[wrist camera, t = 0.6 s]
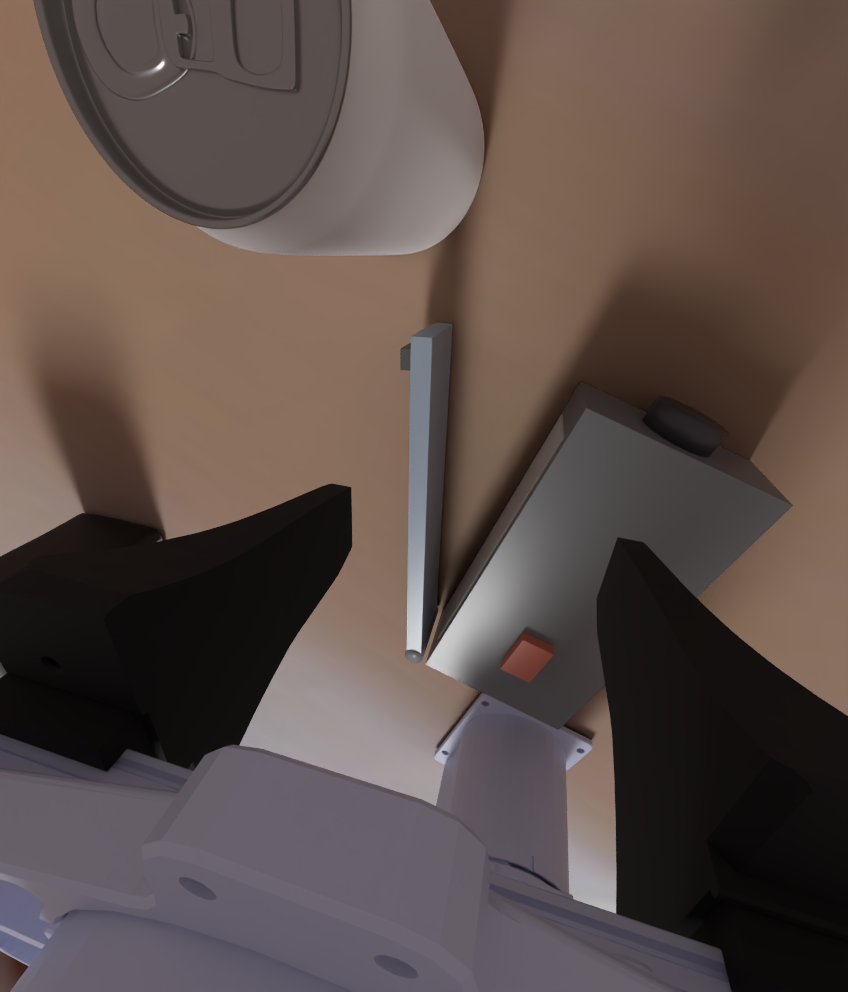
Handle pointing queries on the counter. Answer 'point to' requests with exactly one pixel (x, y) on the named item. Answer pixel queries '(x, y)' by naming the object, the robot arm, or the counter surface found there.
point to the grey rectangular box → (595, 545)
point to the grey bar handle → (425, 476)
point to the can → (277, 116)
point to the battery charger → (79, 541)
